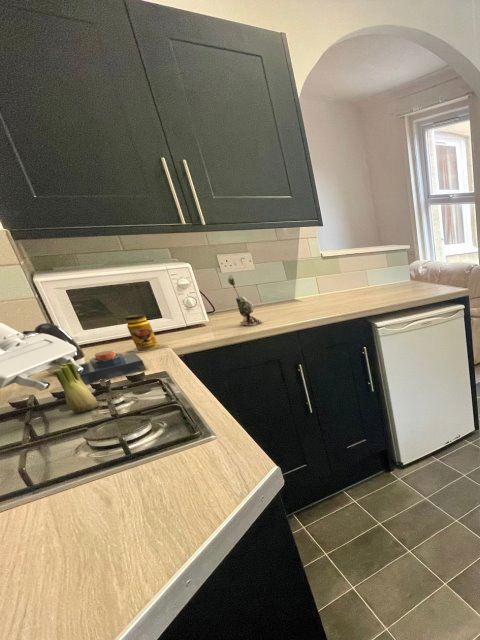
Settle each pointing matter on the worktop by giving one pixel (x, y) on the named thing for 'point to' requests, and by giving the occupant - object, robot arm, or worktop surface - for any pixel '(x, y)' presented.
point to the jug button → (105, 355)
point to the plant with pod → (244, 307)
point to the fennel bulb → (75, 389)
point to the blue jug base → (111, 367)
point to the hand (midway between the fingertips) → (64, 379)
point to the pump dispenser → (62, 335)
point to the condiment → (141, 333)
